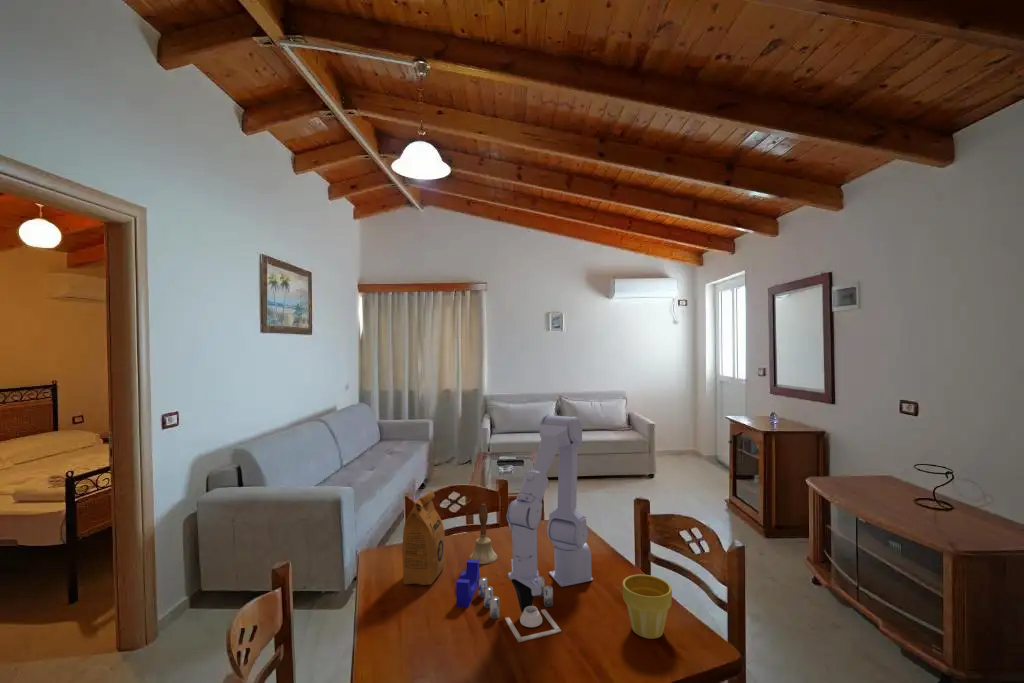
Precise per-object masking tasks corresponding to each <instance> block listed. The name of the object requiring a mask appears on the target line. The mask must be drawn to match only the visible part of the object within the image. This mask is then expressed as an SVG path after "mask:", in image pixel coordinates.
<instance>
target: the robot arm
mask: <svg viewBox="0 0 1024 683" xmlns="http://www.w3.org/2000/svg"><path fill="white" fill-rule="evenodd" d="M538 433H539V437H540V442H539V446H538V450H537V453H536V456H535V460H534V463H533V466H532V469H530V470H528V471H527V472H526V473H525V476H524V478H523V481H522V484H521V486H520V488H519V492H518V493H517V496H516V499H514V500H512V501H511V502H510V504H509V505H508V508H507V513H506V520H507V523H508V524H509V531H510V533H512V534H511V536H512V537H511V541H512V542H511V543H512V544H511V545H512V546H511V547H512V549H511V550H512V559H510V567H511V572H508V573H507V577H508V578H509V580H510V581H511V583H512V585H513V587H514V590H515V592H516V596H517V600H518V606H519V609H520V612H521V614H522V613H523V611H524V609H525V607H527V606H533V603H534V599H535V597H536V596H537V595H541V585H540V583H539V576H540V575H539V574H540V573H539V570H538V545H537V544H538V536H537V535H538V534H537V533H538V532H537V529H538V526H539V524H540V522H541V520H542V513H543V511H542V510H543V503H542V501H543V498H544V495H545V492H546V490H547V487H548V484H549V479H548V477H547V476H548V475H547V474H548V472H549V469H550V467H551V465H552V462H553V461H554V458H555V456H556V454H557V452H558V476H557V477H558V480H557V507H556V508H555V509H553V510H551V512H550V513H549V517H548V518H549V519H548V522H547V526H546V533H547V534H546V535H547V538H548V539H549V540H550V541H551V545H553V548H554V549H553V553H554V555H553V556H554V570H552V571H549V572H548V574H549V576H551V577H552V578H553V580H554V581H555V582H556V583H557V584H558V585H559V586H560V587H562V588H563V587H568V586H573V585H578V584H583V583H586V582H587V583H588V582H592V581H593V580H594V578H593V577H592V553H591V549H590V547H589V546H590V545H588V543H587V541H588V534H589V529H588V526H587V517H586V515H585V514H584V513H582V512H581V510H579V508H578V507H577V499H578V498H577V497H578V496H577V495H578V492H577V491H578V488H577V487H578V454H579V453H578V452H579V451H578V448H579V447H581V446H583V441H582V440H583V423H582V422H581V420H580V419H579V417H577V416H566V415H565V416H564V415H562V416H561V415H554V414H553V415H551V414H545V415H543V416H542V418H541V420H540V423H539V427H538ZM528 613H529V612H528Z"/></svg>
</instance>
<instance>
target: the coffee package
mask: <svg viewBox="0 0 1024 683" xmlns="http://www.w3.org/2000/svg"><path fill="white" fill-rule="evenodd" d="M435 497H436V496H435V493H434V492H433V491H432V490H431V491H430V492H427V493H426V494H423V495H422V496H421V497H419V498H418V499H417V500H416V502H415V503H414V505H413V507H412V509H411V510H410V512H409V515H408V516H407V517H406V520H405V522H404V525H403V532H402V534H403V535H402V547H401V548H402V550H401V552H402V570H403V571H402V574H403V576H402V577H403V581H402V582H403V583H402V584H403V585H413V584H417V585H419V586H420V585H421V586H427V585H432V584H433V582H434V581H435V580H436V579H437V577H438V576H439V575H440V574H441V572H442V570H443V569H444V567H445V566H446V555H445V554H446V552H445V551H446V550H445V528H444V523H443V521H442V519H441V516H440V515H439V513H438V512H437V510H436V509H435V506H434V503H433V499H435Z"/></svg>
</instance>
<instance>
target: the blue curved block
mask: <svg viewBox="0 0 1024 683" xmlns="http://www.w3.org/2000/svg"><path fill="white" fill-rule="evenodd" d="M465 568H466V570H462V572H461V574H460V576H459V578H457V580H456V582H455V584H456V586H455V589H456V593H455V594H456V596H455V598H456V607H463V608H464V607H465V608H469V607H470V605H471V603H472V600H473V598H474V596H475V593H476V591H477V590H478V588H479V584H478V579H479V578H480V564H479V560H470V559H467V560H466V567H465Z"/></svg>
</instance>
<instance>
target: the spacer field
mask: <svg viewBox="0 0 1024 683" xmlns="http://www.w3.org/2000/svg"><path fill="white" fill-rule="evenodd" d="M545 582H546V581H545V577H544V576H542V575H541V576H540V575H539V583H540V585H541V595H536V596H537V597H539V598H540V597H543V606H544V607H546V608H552V607H553V606H554V589H553V586H552V585H545ZM478 597H480V598H483V606H484V608H489V617H490V619H492V620H497V619H499V618H500V597H498V596H494V588H493V587H492V586H490V585H488V577H486V576H479V579H478Z"/></svg>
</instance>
